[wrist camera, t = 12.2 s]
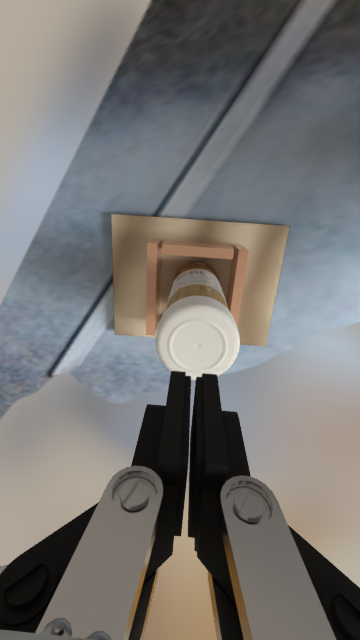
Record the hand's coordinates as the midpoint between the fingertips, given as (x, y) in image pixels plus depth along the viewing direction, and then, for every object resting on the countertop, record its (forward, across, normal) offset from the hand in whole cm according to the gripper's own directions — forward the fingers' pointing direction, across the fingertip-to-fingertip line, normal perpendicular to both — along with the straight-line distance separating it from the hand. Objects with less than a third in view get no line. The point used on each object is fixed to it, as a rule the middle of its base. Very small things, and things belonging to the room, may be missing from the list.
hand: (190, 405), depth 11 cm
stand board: (+19, 0, 0) cm, 19 cm away
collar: (+18, 0, 0) cm, 18 cm away
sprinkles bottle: (+18, 0, 0) cm, 18 cm away
